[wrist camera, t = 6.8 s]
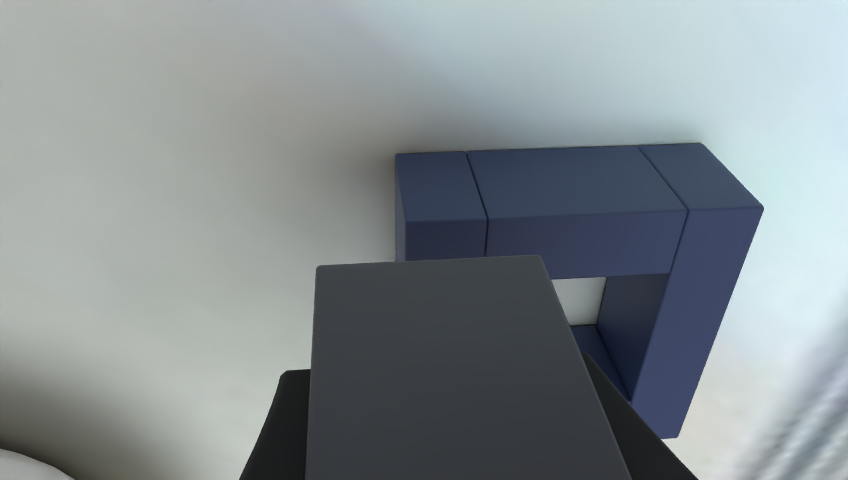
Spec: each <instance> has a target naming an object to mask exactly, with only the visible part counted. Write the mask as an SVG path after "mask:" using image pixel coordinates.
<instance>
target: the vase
mask: <svg viewBox="0 0 848 480" xmlns="http://www.w3.org/2000/svg"><path fill="white" fill-rule="evenodd" d="M0 480H75V479H73V478H71V477H70V476H68V475H66V474H65V473H63V472H62V471H60V470H58V469H57V468H55V467H53V466H51V465H48V464H45V463H43V462H40V461H38V460H35V459H32V458H30V457H27V456H25V455H22V454H19V453H17V452H12V451H8V450H3V449H0Z"/></svg>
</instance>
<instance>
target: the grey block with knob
mask: <svg viewBox="0 0 848 480" xmlns="http://www.w3.org/2000/svg"><path fill="white" fill-rule="evenodd" d="M305 480H632V478H631V476H630V473H629V471H628V468H627V466H626V463H625V461H624V458H623V456H622V454H621V451H620V449H619V446H618V444H617V441H616V439H615V436H614V434H613V431H612V429H611V427H610V424H609V422H608V419H607V417H606V414H605V412H604V409H603V407H602V405H601V402H600V400H599V397H598V395H597V392H596V390H595V387H594V385H593V382H592V380H591V378H590V375H589V373H588V370H587V368H586V365H585V363H584V360H583V358H582V356H581V353H580V351H579V348H578V346H577V343H576V341H575V338H574V336H573V333H572V331H571V329H570V326H569V324H568V321H567V319H566V316H565V314H564V311H563V309H562V307H561V304H560V302H559V299H558V297H557V294H556V292H555V289H554V287H553V284H552V282H551V280H550V277H549V275H548V272H547V270H546V267H545V265H544V262H543V260H542V257H541V256H540V255H519V256H499V257H479V258H459V259H439V260H419V261H399V262H379V263H359V264H339V265H320V266H318V267H317V269H316V280H315V299H314V318H313V337H312V356H311V375H310V394H309V412H308V431H307V450H306V469H305Z"/></svg>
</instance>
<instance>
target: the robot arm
mask: <svg viewBox="0 0 848 480" xmlns="http://www.w3.org/2000/svg"><path fill="white" fill-rule="evenodd" d="M580 353H581V356H582V358H583V360H584V363H585V365H586V368H587V370H588V373H589V375H590V378H591V380H592V382H593V385H594V387H595V390H596V392H597V395H598V397H599V400H600V402H601V405H602V407H603V409H604V412H605V414H606V417H607V419H608V422H609V424H610V427H611V429H612V431H613V434H614V436H615V439H616V441H617V444H618V446H619V449H620V451H621V454H622V456H623V458H624V461H625V463H626V466H627V468H628V471H629V473H630V476H631V478H632V480H698V479H697V478H696V477H695V476H694V475H693V474H692V472H691V471H690V470H689V469H688V468H687V467H686V466H685V465H684V464H683V463H682V462H681V461H680V460H679V459H678V458H677V457H676V456H675V455H674V453H673V452H672V451H671V450H670V449H669V448H668V447H667V446H666V445H665V444H664V442H663V441H662V440H661V439H660V438H659V437H658V436H657V435H656V434H655V433H654V432H653V430H652V429H651V428H650V427H649V426H648V425H647V424H646V423H645V421H644V420H643V419H642V418H641V417H640V416H639V415H638V413H637V412H636V411H635V410H634V409H633V407H632V406H631V405H630V404H629V403H628V402H627V400H626V399H625V398H624V397H623V396H622V394H621V393H620V392H619V391H618V390H617V388H616V387H615V386H614V385H613V384H612V382H611V381H610V380H609V379H608V377H607V376H606V375H605V374H604V373H603V371H602V370H601V369H600V368H599V366H598V365H597V364H596V363H595V361H594V360H593V359H592V358H591V356H590V355H588V354H587V353H586V352H580ZM310 375H311V369H305V370H289V371H286V372H285V373H283V374H282V375H281V376H280V380H279V383H278V387H277V390H276V393H275V396H274V399H273V402H272V405H271V408H270V410H269V413H268V415H267V418H266V421H265V423H264V425H263V428H262V430H261V433H260V435H259V437H258V440H257V442H256V444H255V446H254V449H253V451H252V453H251V455H250V457H249V459H248V461H247V464H246V466H245V468H244V470H243V472H242V474H241V476H240V479H239V480H305V469H306V450H307V431H308V412H309V394H310Z"/></svg>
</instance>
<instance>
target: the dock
mask: <svg viewBox="0 0 848 480" xmlns="http://www.w3.org/2000/svg"><path fill="white" fill-rule="evenodd" d="M763 210H764V207H763V205H762V204H761V203H760V202H759V201H758V200H757V199H756V198H755V197H754V196H753V195H752V194H751V193H750V192H749V191H748V190H747V189H746V188H745V187H744V186H743V185H742V184H741V183H740V182H739V181H738V180H737V179H736V178H735V176H734V175H733V174H732V173H731V172H730V171H729V170H728V169H727V168H726V167H725V166H724V165H723V164H722V163H721V162H720V161H719V160H718V159H717V158H716V157H715V156H714V155H713V154H712V153H711V152H710V151H709V150H708V149H707V148H706V147H705V146H704V145H703V144H678V145H648V146H639V147H637V146H612V147H582V148H552V149H522V150H492V151H468V152H467V153H465V152H436V153H406V154H396V155H395V231H396V262H399V261H419V260H439V259H459V258H479V257H499V256H519V255H540V256H541V257H542V260H543V262H544V265H545V267H546V270H547V272H548V275H549V277H550V280H551V279H570V278H589V277H608V279H607V283H606V288H605V292H604V296H603V301H602V305H601V309H600V314H599V318H598V322H597V327H596V326H595V325H590V326H574V327H570V329H571V331H572V333H573V336H574V338H575V341H576V343H577V346H578V348H579V351H580V352H586V353H587V354H588V355H590V356H591V358H592V359H593V360H594V361H595V363H596V364H597V365H598V366H599V368H600V369H601V370H602V371H603V373H604V374H605V375H606V376H607V377H608V379H609V380H610V381H611V382H612V384H613V385H614V386H615V387H616V388H617V390H618V391H619V392H620V393H621V394H622V396H623V397H624V398H625V399H626V400H627V402H628V403H629V404H630V405H631V406H632V407H633V409H634V410H635V411H636V412H637V413H638V415H639V416H640V417H641V418H642V419H643V420H644V421H645V423H646V424H647V425H648V426H649V427H650V428H651V429H652V430H653V432H654V433H655V434H656V435H657V436H658V437H659V438H660V439H668V438H677V437H678V435H679V433H680V430H681V427H682V425H683V422H684V420H685V417H686V414H687V412H688V409H689V406H690V404H691V401H692V398H693V396H694V393H695V390H696V388H697V385H698V382H699V380H700V377H701V375H702V372H703V369H704V367H705V364H706V361H707V359H708V356H709V353H710V351H711V348H712V345H713V343H714V340H715V337H716V335H717V332H718V330H719V327H720V324H721V322H722V319H723V316H724V314H725V311H726V308H727V306H728V303H729V300H730V298H731V295H732V292H733V290H734V287H735V285H736V282H737V279H738V277H739V274H740V271H741V269H742V266H743V263H744V261H745V258H746V255H747V253H748V250H749V247H750V245H751V242H752V240H753V237H754V234H755V232H756V229H757V226H758V224H759V221H760V218H761V216H762V213H763Z"/></svg>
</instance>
